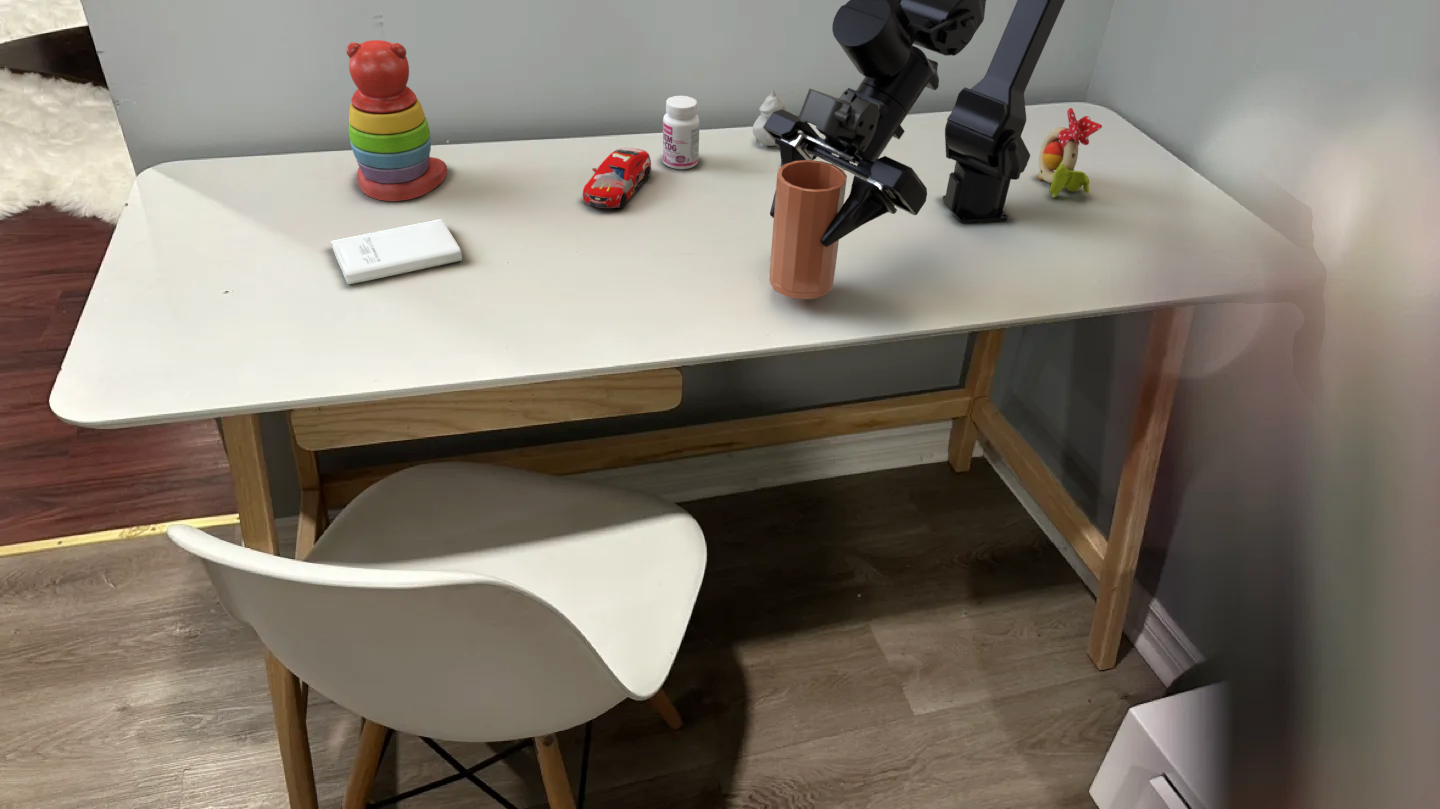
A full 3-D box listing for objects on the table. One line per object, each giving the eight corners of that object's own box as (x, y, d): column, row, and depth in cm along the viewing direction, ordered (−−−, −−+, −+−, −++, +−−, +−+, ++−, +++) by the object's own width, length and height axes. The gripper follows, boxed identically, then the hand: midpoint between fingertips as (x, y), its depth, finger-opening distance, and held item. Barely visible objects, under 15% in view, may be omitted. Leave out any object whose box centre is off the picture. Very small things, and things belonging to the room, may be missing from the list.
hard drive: (463, 262, 111) (348, 286, 106) (442, 229, 117) (332, 250, 112) (461, 249, 110) (345, 273, 105) (441, 217, 116) (330, 238, 111)
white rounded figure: (745, 137, 140) (748, 81, 135) (788, 132, 142) (793, 77, 137) (759, 153, 136) (764, 96, 131) (803, 148, 138) (809, 92, 133)
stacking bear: (450, 167, 129) (431, 27, 118) (435, 204, 121) (413, 58, 110) (366, 164, 129) (338, 24, 118) (345, 201, 121) (313, 55, 110)
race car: (617, 217, 121) (616, 187, 118) (576, 208, 122) (574, 178, 120) (658, 172, 131) (658, 143, 128) (620, 164, 132) (619, 135, 129)
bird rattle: (1019, 197, 134) (1060, 200, 126) (1019, 111, 131) (1061, 109, 122) (1059, 192, 136) (1102, 196, 127) (1060, 107, 132) (1105, 105, 124)
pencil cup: (805, 258, 111) (816, 154, 103) (846, 287, 107) (861, 180, 99) (756, 276, 108) (763, 170, 100) (796, 306, 104) (808, 197, 96)
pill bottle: (656, 165, 132) (656, 104, 127) (671, 152, 136) (672, 91, 130) (689, 173, 131) (690, 111, 125) (703, 159, 134) (706, 98, 129)
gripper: (782, 30, 100) (697, 162, 101) (928, 87, 90) (832, 234, 91) (827, 88, 109) (749, 209, 110) (965, 147, 99) (877, 279, 100)
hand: (797, 230), depth 102 cm, fingers closed on pencil cup, 7 cm apart
